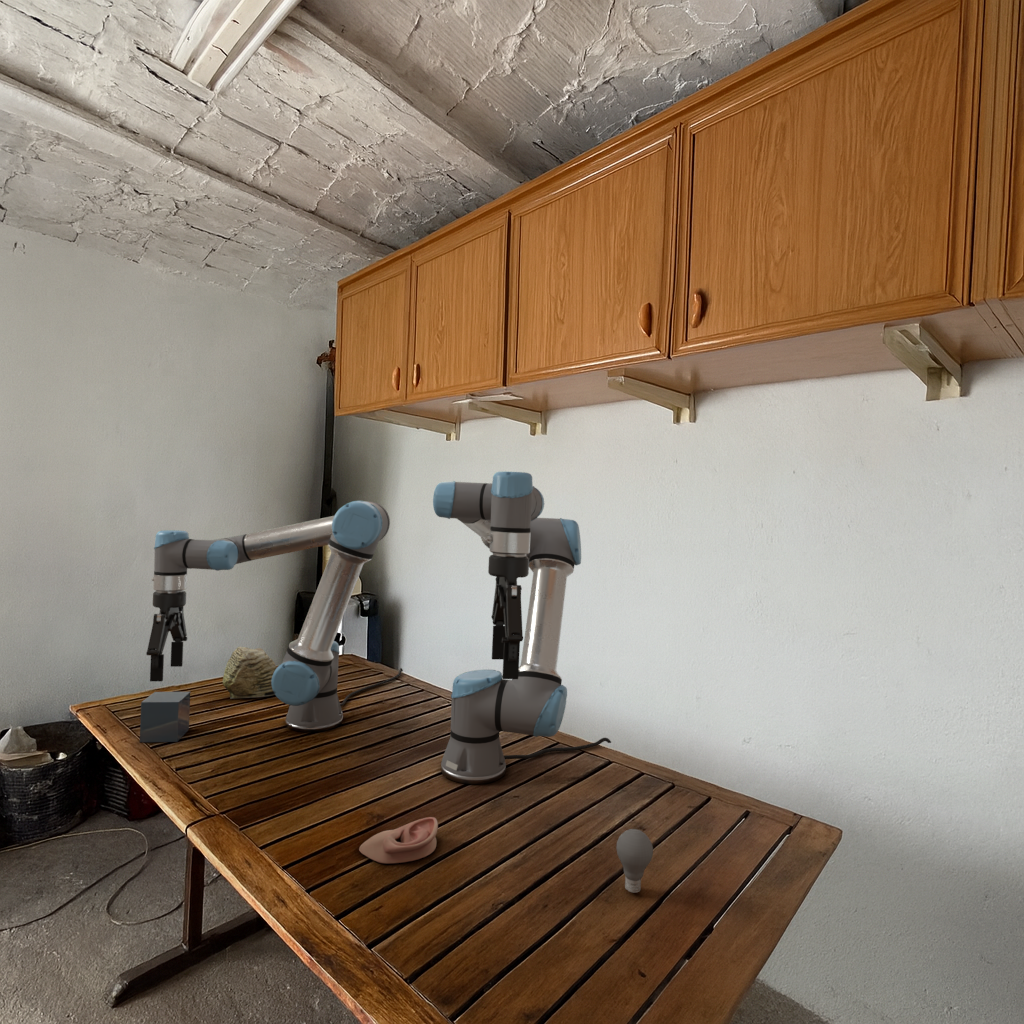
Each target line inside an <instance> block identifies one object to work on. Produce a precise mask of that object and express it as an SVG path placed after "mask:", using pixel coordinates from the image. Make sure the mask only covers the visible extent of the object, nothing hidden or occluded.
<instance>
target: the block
mask: <svg viewBox="0 0 1024 1024" xmlns="http://www.w3.org/2000/svg"><path fill="white" fill-rule="evenodd" d="M190 708H191V691H154V692H152V693H151V694H150V695H148V697H146V698H144V699H143V700H142V701H141V702H140V721H139V722H140V724H139V725H140V726H139V743H174V742H175V743H178V742H179V741H180V740H181V739H182V737H184V735H185V734H187V732H188V731H189V730H190V711H191V709H190Z"/></svg>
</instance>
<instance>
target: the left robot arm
mask: <svg viewBox="0 0 1024 1024" xmlns="http://www.w3.org/2000/svg"><path fill="white" fill-rule="evenodd" d="M390 527H391V519H390V515H389V513H388V512H387V509H386V508H384V506H383V505H381V504H380V503H378V502H375V501H371V500H353V501H350V502H347V503H345V504H344V505H342V506H340V508H338V510H337V511H336V513H335V514H334V515H332V516H331V515H330V516H326V517H322V518H316V519H311V520H307V521H302V522H297V523H294V524H293V523H292V524H288V525H283V526H277V527H273V528H268V529H264V530H258V531H253V532H248V533H244V534H239V535H235V536H229V537H224V538H223V537H222V538H216V539H194V538H193V539H192V538H190V536H189V533H188V531H186V530H175V529H173V530H171V529H169V530H168V529H165V530H164V529H163V530H159V531H158V532H156V534H155V539H154V547H153V550H154V559H153V560H154V561H153V562H154V564H153V565H154V566H153V567H154V569H153V577H152V578H151V582H153V587H152V588H153V590H154V591H153V593H152V606H153V607H154V608H157V609H159V613H154V614H153V618H152V619H153V620H152V627H151V632H150V634H149V635H150V636H149V641H148V645H147V650H146V656H150V666H149V667H150V668H149V682H163V681H164V667H165V666H164V664H165V663H164V660H165V654H163V652H164V649H165V645H166V643H167V639H168V635H169V633H170V635H171V638H172V641H171V643H170V645H171V646H170V667H171V668H173V667H175V668H177V667H178V668H180V667H183V663H184V661H183V659H184V658H183V657H184V642H187V641H188V636H187V635H188V634H187V633H188V632H187V627H186V621H185V615H184V608H185V606H186V604H187V591H185V590H187V588H188V569H190V570H191V569H195V570H210V571H211V570H213V571H217V572H218V571H219V572H220V571H230V570H232V569H233V568H234V567H235V566H236V565H239V564H243V563H247V562H251V561H256V560H260V559H265V558H271V557H277V556H280V555H285V554H290V553H295V552H300V551H304V550H310V549H315V548H318V547H319V548H320V547H325V546H328V548H329V550H330V555H329V558H328V560H327V562H326V565H325V568H324V571H323V573H322V576H321V578H320V580H319V584H318V586H317V589H316V591H315V594H314V596H313V599H312V602H311V604H310V606H309V609H308V612H307V614H306V617H305V620H304V622H303V624H302V627H301V630H300V632H299V635H298V637H297V639H295V640H293V641H291V642H289V644H288V646H287V649H286V652H285V654H284V657H283V659H282V662H281V663H280V664H279V665H278V666H276V670H275V672H274V673H273V676H272V681H271V684H272V689H273V691H274V693H275V695H274V696H275V697H276V698H277V699H278V700H279V701H280V702H281V703H283V704H286V705H287V706H288V711H287V713H286V715H285V726H286V728H287V729H289V730H291V731H294V732H295V731H296V732H301V733H316V732H325V731H329V730H332V729H335V728H337V727H339V726H340V725H342V723H343V722H344V714H343V709H342V706H344V705H345V704H346V703H347V701H348V699H350V698H351V697H352V696H354V695H356V694H359V693H361V692H363V691H364V692H365V691H366V690H370V689H372V688H375V687H378V686H381V685H384V684H387V683H389V682H392V681H394V680H396V679H398V678H399V677H400V676H401V675H402V672H404V670H403V668H402V667H401V668H399V671H398V673H397V674H396V675H395V676H393V677H390V678H388V679H386V680H383V681H380V682H377V683H374V684H371V685H368V686H365V687H363V688H359V689H357V690H355V691H353V692H351V693H349V694H348V695H346V696H345V697H344V699H343V701H342V702H340V699H339V695H338V682H339V662H340V661H339V660H340V659H339V657H340V645H339V643H338V642H337V641H335V639H336V636H337V634H338V631H339V629H340V626H341V624H342V620H343V618H344V616H345V612H346V610H347V607H348V605H349V602H350V600H351V597H352V595H353V592H354V589H355V587H356V585H357V582H358V579H359V577H360V574H361V572H362V569H363V566H364V564H366V563H368V562H370V561H372V560H373V557H374V555H375V552H376V550H377V547H378V544H379V542H380V541H382V540H383V539H384V538H385V537H386V536H387V534H388V532H389V530H390Z"/></svg>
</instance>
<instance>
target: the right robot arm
mask: <svg viewBox="0 0 1024 1024" xmlns="http://www.w3.org/2000/svg"><path fill="white" fill-rule="evenodd" d="M432 505H433V511H434V513H435V515H436V516H437V517H439V518H443V519H448V520H451V519H456V520H457V521H459V522H461V523H462V524H463V525H465V526H466V527H468V529H470V530H471V531H472V532H474V534H476V535H478V536H479V537H480V539H481V542H482V543H483V545H484V546H486V548H488V549H489V552H490V553H491V555H489V556H488V566H487V567H488V570H487V572H488V575H489V576H491V577H495V588H494V596H493V605H492V611H491V613H492V614H491V615H490V616H491V620H492V641H491V642H492V643H491V660H502V672H501V671H499V670H496V669H476V670H470V671H466V672H463V673H461V674H458V675H457V676H456V677H455V678H454V679H453V681H452V692H451V695H450V698H451V703H450V704H451V706H450V709H451V710H450V731H449V736H450V737H449V739H448V742H447V745H446V747H445V750H444V753H443V755H442V759H441V763H440V772H441V774H442V775H443V776H444V777H445V778H446V779H448V780H450V781H453V782H456V783H460V784H465V785H481V784H482V785H484V784H489V783H493V782H496V781H498V780H500V779H501V778H503V777H504V776H505V774H506V770H507V763H506V760H526V759H527V760H528V759H533V758H536V757H538V756H541V755H544V754H547V753H553V752H573V751H574V752H575V751H581V750H586V749H591V748H594V747H595V748H596V747H597V746H599V745H601V744H602V743H605V742H606V743H608V744H611V743H612V741H611V739H610V738H608V737H602V738H600V739H598V740H596V741H595V742H592V743H587V744H583V745H577V746H569V747H568V746H567V747H549V748H544V749H541V750H539V751H536V752H533V753H528V754H509V755H504V751H503V747H502V744H501V740H500V732H505V733H513V734H518V735H527V736H533V737H536V738H537V737H546V738H551V737H554V736H555V735H556V734H557V733H558V732H559V730H560V728H561V725H562V723H563V719H564V716H565V711H566V706H567V698H568V689H567V686H565V685H563V684H562V681H563V678H562V677H561V675H560V674H559V673H558V671H557V669H558V659H559V652H560V642H561V634H562V626H563V625H562V624H563V615H564V607H565V597H566V590H567V580H568V577H569V576H571V575H572V574H573V573H574V571H575V566H580V565H581V563H582V542H581V541H582V540H581V532H580V527H579V526H580V525H579V524H578V522H577V521H576V520H574V519H568V518H562V517H560V518H556V517H555V518H553V517H551V518H550V517H540V516H541V514H542V513H543V511H544V508H545V498H544V495H543V494H542V492H541V490H539V489H538V488H537V487H536V486H534V485H533V476H532V474H531V473H529V472H524V471H523V472H522V471H506V470H505V471H503V470H501V471H496V472H495V473H494V474H493V476H492V482H491V483H490V482H488V483H487V482H469V481H468V482H467V481H455V480H452V481H441V482H438V484H436V485H435V488H434V491H433V496H432ZM530 571H531V572H532V580H531V586H530V588H531V589H530V595H529V603H528V608H527V609H528V610H527V615H526V623H525V631H524V633H523V614H522V612H523V611H522V588H523V587H522V585H520V584H518V578H526V577H528V576H529V572H530ZM521 642H523V645H522V646H523V647H522V654H521V660H520V653H521V652H520V650H521V648H520V647H521Z"/></svg>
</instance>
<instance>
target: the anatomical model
mask: <svg viewBox="0 0 1024 1024" xmlns="http://www.w3.org/2000/svg"><path fill="white" fill-rule="evenodd" d="M438 830H439V822H438V819H437V818H436V817H434V816H428V817H423V818H419V819H417V820H414V821H410V822H409V823H407V824H404V825H401V826H398V827H397V828H395V829H388V830H383V831H381V832H378V833H376V834H374V835H372V836H371V837H369V838H368V839H366V840H365V841H364V842H363V843H362V844H361V845H360V846H359V848H358V850H359V852H360V853H361V854H362V855H364V857H366V858H368V859H369V860H372V861H374V862H377V863H380V864H399V863H400V864H401V863H409V862H413V861H417V860H420V859H422V858H426V857H427V856H429V855H431V854H432V853H433V852H435V850H436V847H437V837H436V836H437V834H438Z"/></svg>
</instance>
